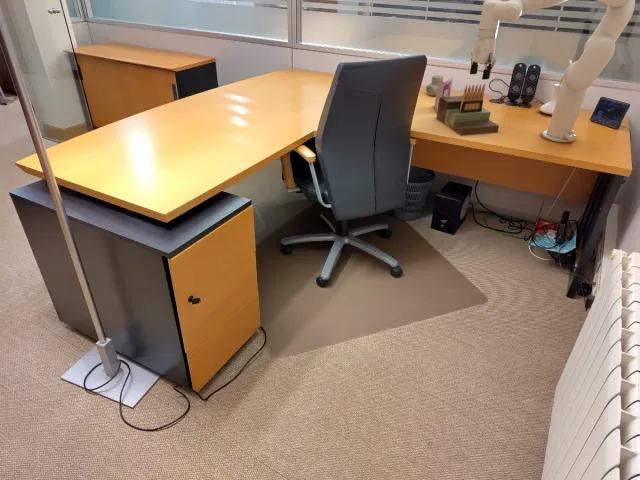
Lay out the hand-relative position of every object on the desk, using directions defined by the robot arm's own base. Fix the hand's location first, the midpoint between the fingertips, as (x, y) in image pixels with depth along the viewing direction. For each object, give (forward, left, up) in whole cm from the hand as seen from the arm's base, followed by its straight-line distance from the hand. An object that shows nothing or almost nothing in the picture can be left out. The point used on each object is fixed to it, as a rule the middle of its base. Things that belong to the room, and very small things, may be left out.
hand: (479, 76), depth 188 cm
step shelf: (+1, +1, -22) cm, 22 cm away
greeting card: (+25, +3, -22) cm, 33 cm away
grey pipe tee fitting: (+50, -8, -22) cm, 55 cm away
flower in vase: (+7, -51, -22) cm, 56 cm away
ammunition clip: (0, +1, -16) cm, 16 cm away
